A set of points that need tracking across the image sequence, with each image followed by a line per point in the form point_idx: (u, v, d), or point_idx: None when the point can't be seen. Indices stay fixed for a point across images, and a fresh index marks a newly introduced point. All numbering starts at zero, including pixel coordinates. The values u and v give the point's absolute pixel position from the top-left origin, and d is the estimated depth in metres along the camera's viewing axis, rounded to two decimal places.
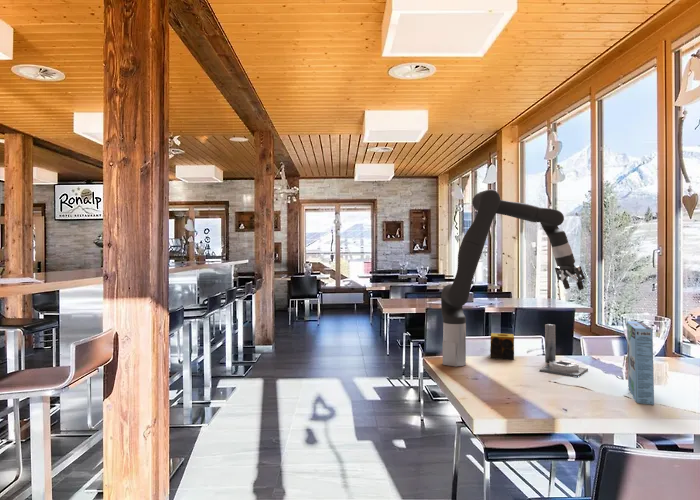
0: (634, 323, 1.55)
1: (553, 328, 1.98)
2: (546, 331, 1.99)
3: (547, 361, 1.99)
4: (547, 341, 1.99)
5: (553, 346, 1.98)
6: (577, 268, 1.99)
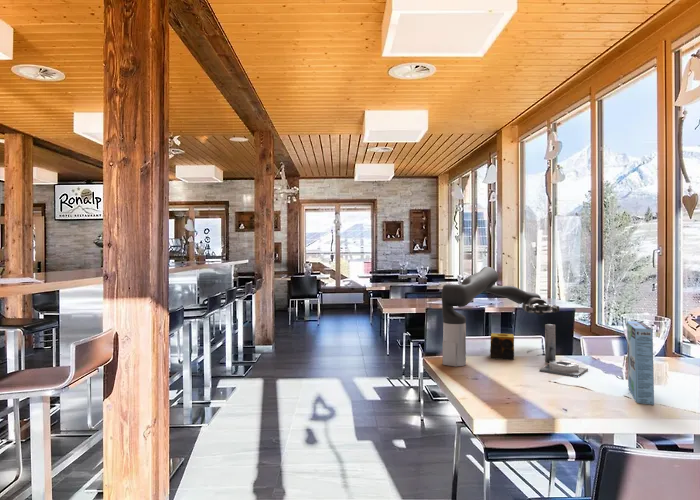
0: (634, 323, 1.55)
1: (553, 328, 1.98)
2: (546, 331, 1.99)
3: (547, 361, 1.99)
4: (547, 341, 1.99)
5: (553, 346, 1.98)
6: None
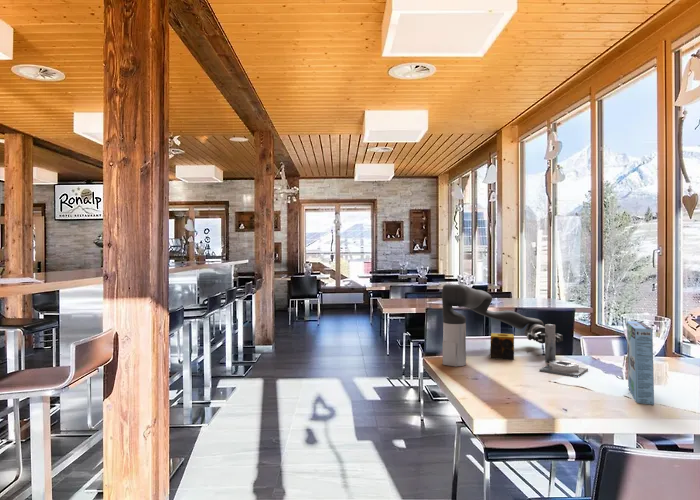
0: (634, 323, 1.55)
1: (553, 328, 1.98)
2: (546, 331, 1.99)
3: (547, 361, 1.99)
4: (547, 341, 1.99)
5: (553, 346, 1.98)
6: None
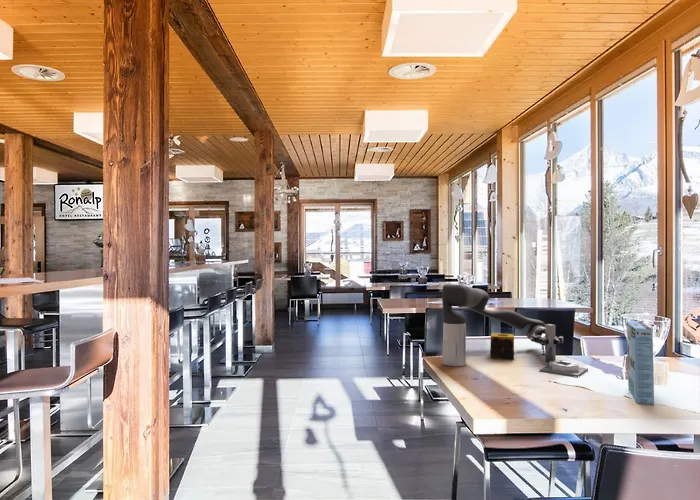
0: (634, 323, 1.55)
1: (553, 328, 1.98)
2: (546, 331, 1.99)
3: (547, 361, 1.99)
4: (547, 341, 1.99)
5: (553, 346, 1.98)
6: (562, 337, 2.05)
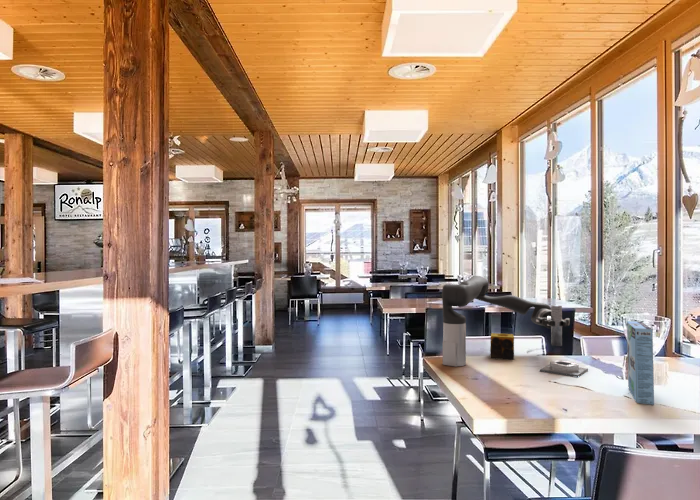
0: (634, 323, 1.55)
1: (560, 309, 1.91)
2: (552, 312, 1.92)
3: (553, 343, 1.91)
4: (553, 323, 1.91)
5: (560, 328, 1.90)
6: (569, 319, 1.97)
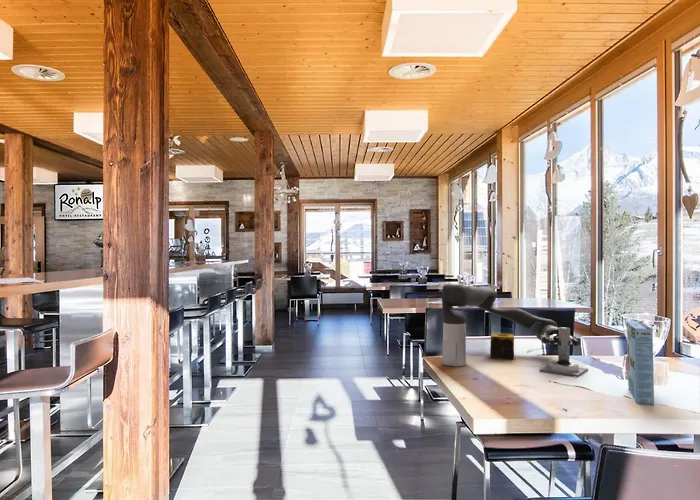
0: (634, 323, 1.55)
1: (568, 332, 1.83)
2: (560, 335, 1.85)
3: None
4: (561, 345, 1.84)
5: (567, 351, 1.83)
6: None
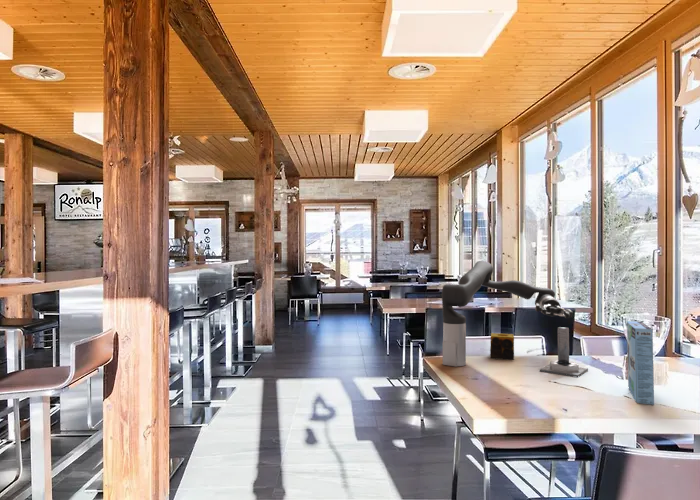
0: (634, 323, 1.55)
1: (566, 331, 1.83)
2: (559, 335, 1.85)
3: None
4: (560, 346, 1.84)
5: (567, 351, 1.83)
6: None
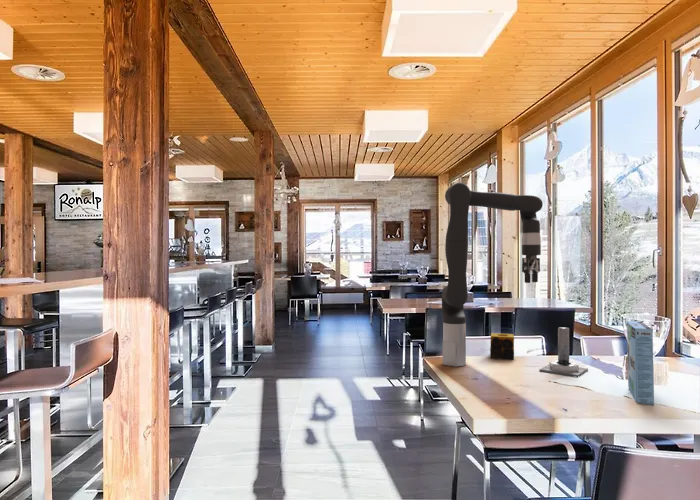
0: (634, 323, 1.55)
1: (567, 332, 1.83)
2: (559, 335, 1.85)
3: None
4: (560, 346, 1.84)
5: (567, 351, 1.83)
6: None
